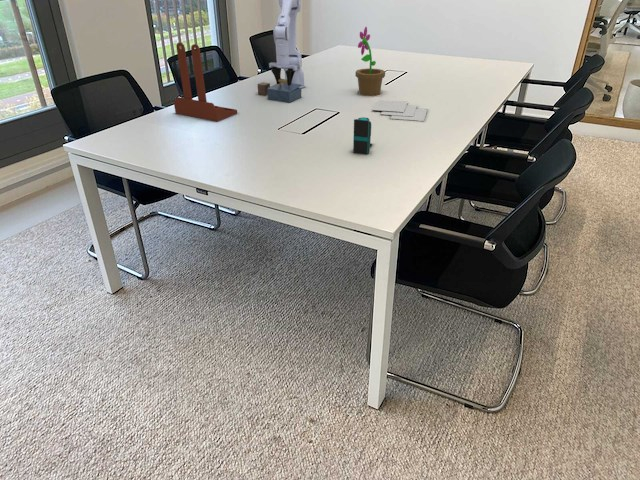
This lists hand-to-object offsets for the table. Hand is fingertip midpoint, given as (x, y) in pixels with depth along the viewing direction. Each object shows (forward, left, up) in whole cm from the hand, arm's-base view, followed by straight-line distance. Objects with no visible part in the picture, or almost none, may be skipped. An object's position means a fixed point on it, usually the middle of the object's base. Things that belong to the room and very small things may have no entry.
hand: (284, 84), depth 234 cm
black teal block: (+18, +74, -7) cm, 76 cm away
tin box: (0, 0, -7) cm, 7 cm away
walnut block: (+3, -13, -7) cm, 15 cm away
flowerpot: (-37, +21, -7) cm, 43 cm away
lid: (0, 0, -2) cm, 2 cm away
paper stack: (-26, +51, -7) cm, 57 cm away
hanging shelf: (+40, -3, -7) cm, 41 cm away
